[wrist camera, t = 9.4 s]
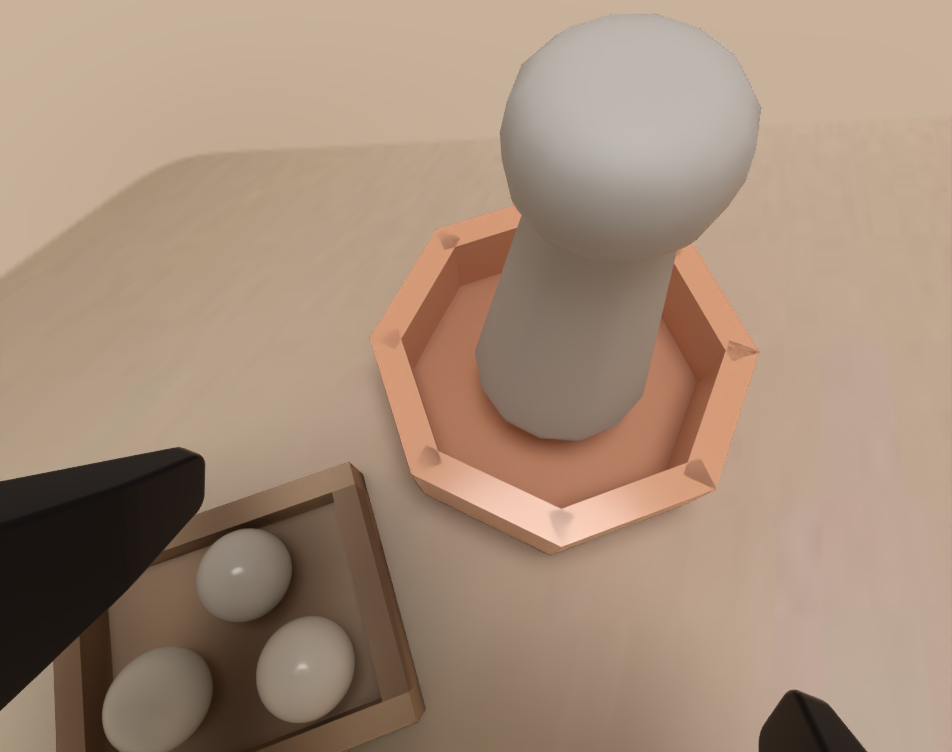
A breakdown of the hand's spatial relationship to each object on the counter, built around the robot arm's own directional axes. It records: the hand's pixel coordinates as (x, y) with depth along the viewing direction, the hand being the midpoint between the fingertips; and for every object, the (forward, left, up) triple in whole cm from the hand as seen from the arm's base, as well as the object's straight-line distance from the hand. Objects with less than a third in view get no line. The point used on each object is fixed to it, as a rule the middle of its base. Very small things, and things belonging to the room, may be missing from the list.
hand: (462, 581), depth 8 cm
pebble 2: (-7, +3, -9) cm, 12 cm away
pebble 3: (-6, 0, -9) cm, 11 cm away
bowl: (+5, +6, -11) cm, 14 cm away
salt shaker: (+5, +6, -11) cm, 13 cm away
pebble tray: (-8, +1, -11) cm, 14 cm away
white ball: (-10, 0, -9) cm, 14 cm away
